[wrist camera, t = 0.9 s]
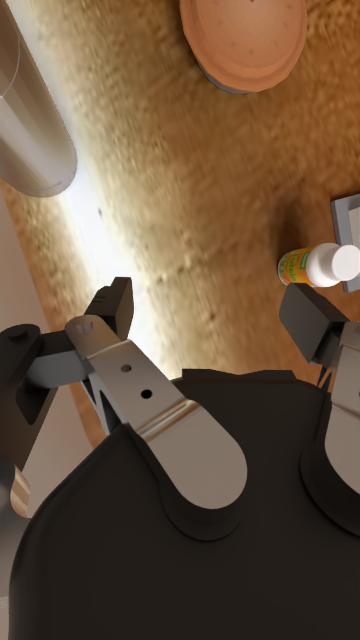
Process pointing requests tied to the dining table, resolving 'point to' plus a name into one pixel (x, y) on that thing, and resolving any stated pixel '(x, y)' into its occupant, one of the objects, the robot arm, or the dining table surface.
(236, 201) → the dining table surface
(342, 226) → the socket plate
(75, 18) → the dining table surface
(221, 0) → the pie
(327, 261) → the supplement bottle
